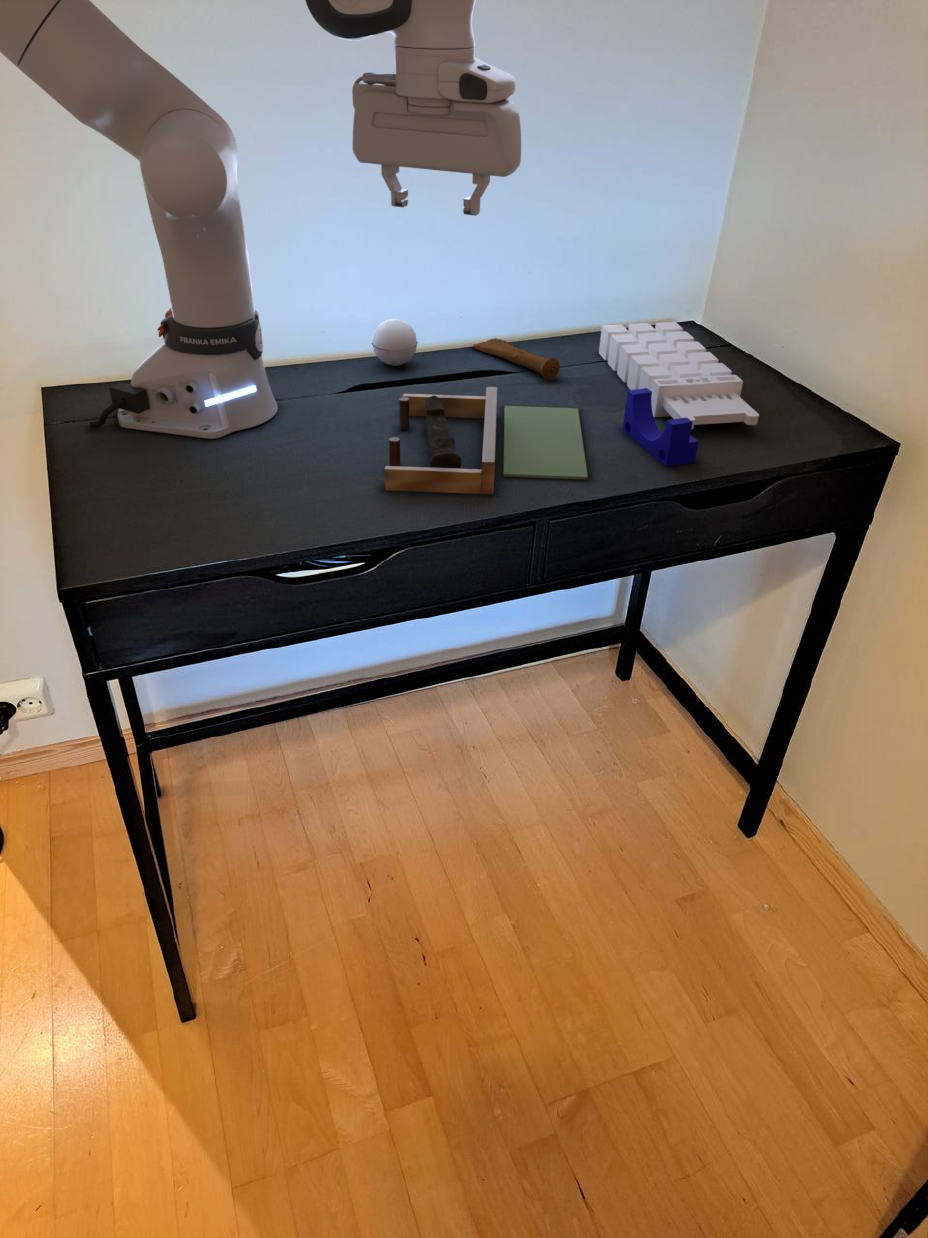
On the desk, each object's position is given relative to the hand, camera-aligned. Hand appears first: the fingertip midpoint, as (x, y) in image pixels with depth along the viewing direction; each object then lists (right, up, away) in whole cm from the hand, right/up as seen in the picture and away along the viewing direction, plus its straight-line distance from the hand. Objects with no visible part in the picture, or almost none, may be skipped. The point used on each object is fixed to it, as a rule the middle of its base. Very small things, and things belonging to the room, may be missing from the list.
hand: (435, 210), depth 108 cm
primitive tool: (+12, -6, +42) cm, 44 cm away
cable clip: (+31, -25, +18) cm, 43 cm away
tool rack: (+1, -26, +15) cm, 30 cm away
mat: (+15, -24, +18) cm, 33 cm away
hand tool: (-1, -26, +15) cm, 30 cm away
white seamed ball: (-7, -8, +39) cm, 41 cm away
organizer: (+36, -13, +33) cm, 51 cm away
